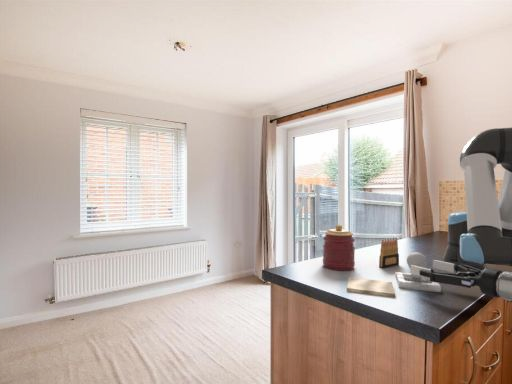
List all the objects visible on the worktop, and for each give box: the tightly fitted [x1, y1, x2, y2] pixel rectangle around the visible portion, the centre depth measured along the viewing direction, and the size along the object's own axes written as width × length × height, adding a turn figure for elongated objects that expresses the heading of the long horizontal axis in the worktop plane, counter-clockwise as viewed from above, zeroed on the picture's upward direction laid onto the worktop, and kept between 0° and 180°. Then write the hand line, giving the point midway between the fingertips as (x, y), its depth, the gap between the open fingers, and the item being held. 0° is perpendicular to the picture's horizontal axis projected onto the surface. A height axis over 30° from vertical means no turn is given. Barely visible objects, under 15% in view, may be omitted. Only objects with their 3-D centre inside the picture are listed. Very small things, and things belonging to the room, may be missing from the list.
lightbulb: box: [406, 251, 428, 282], centre depth 100 cm, size 6×6×11 cm
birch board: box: [346, 276, 396, 298], centre depth 96 cm, size 14×12×1 cm
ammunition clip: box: [378, 237, 400, 269], centre depth 123 cm, size 11×2×12 cm, turn 120°
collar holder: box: [394, 271, 442, 293], centre depth 100 cm, size 12×12×2 cm
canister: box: [322, 224, 356, 271], centre depth 121 cm, size 13×13×18 cm
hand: (422, 266), depth 97 cm, fingers open, 13 cm apart
